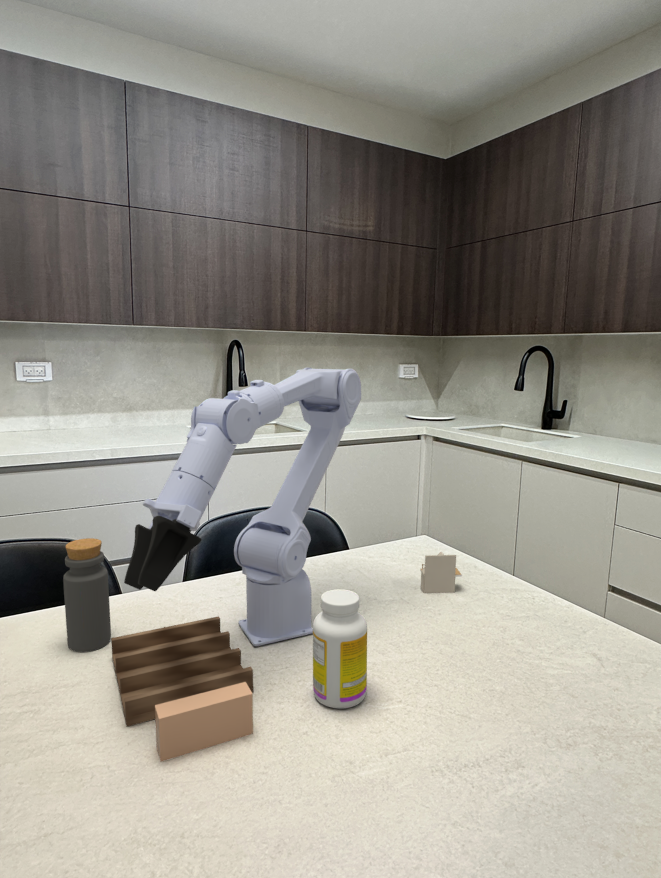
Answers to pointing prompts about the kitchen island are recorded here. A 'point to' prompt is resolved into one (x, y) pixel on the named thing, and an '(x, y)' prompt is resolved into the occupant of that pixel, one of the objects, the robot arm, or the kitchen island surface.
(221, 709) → the peach rectangular block
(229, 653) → the rack
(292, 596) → the robot arm
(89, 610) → the bottle
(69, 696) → the kitchen island surface
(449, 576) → the architectural model
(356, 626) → the supplement bottle
